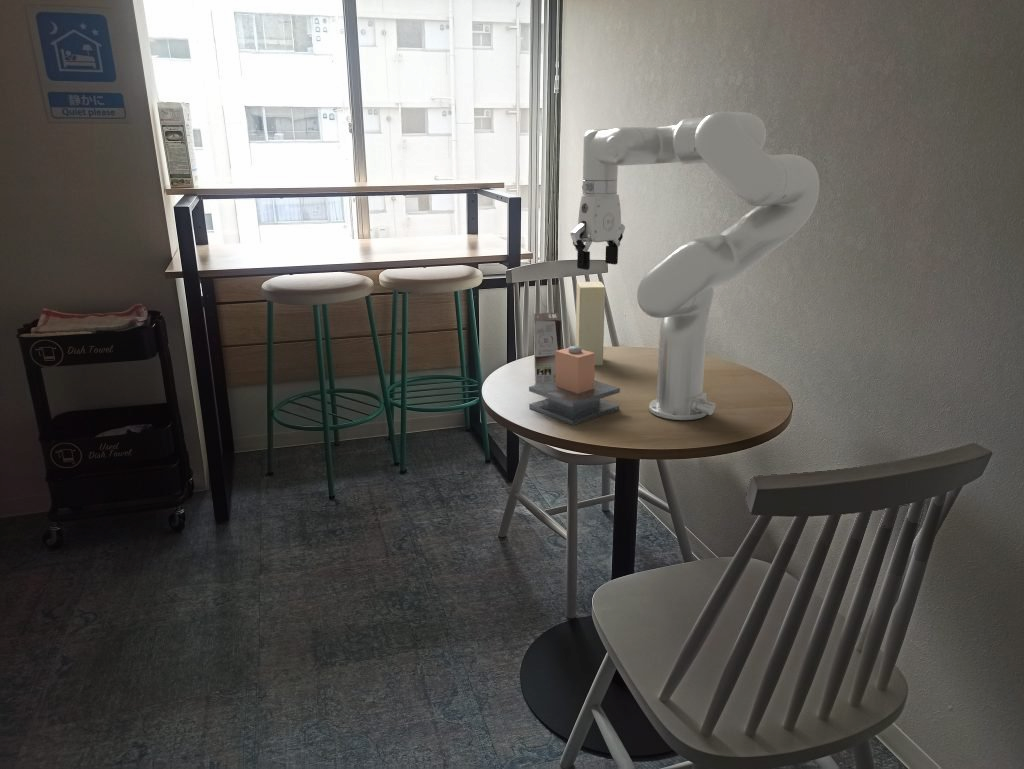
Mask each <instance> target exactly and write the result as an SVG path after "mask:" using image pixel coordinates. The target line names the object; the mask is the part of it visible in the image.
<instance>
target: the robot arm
mask: <svg viewBox="0 0 1024 769" xmlns="http://www.w3.org/2000/svg"><path fill="white" fill-rule="evenodd" d="M766 139H767V130H766V126H765V123H764V122H763V120H762V119H761V118H760V117H758V116H757V115H756V114H754V113H750V112H747V111H746V112H745V111H717V112H713V113H711V114H709V115H707V116H697V117H687V118H684V119H681V120H680V121H679V123H678V124H674V125H665V126H664V125H663V126H654V127H644V126H643V127H637V126H635V127H634V126H633V127H631V126H630V127H616V128H615V127H614V128H611V129H610V128H607V129H606V128H598V129H597V128H596V129H588V130H587V131H586V132H585V133H584V135H583V152H582V153H583V154H582V155H583V156H582V159H583V160H582V163H583V166H582V186H581V189H582V195H581V197H580V202H579V203H580V204H579V213H578V223H577V226H576V227H575V228H574V229H573V230H572V231H570V237H571V241H572V245H573V246H574V247H575V248H574V250H575V251H576V252H577V261H576V262H577V264H576V266H577V267H576V268H577V269H579V270H586V271H588V270H590V268H591V267H590V266H591V265H590V263H591V251H590V250H589V249H590V247H591V246H592V244H593V243H603V242H604V243H605V242H606V244H607V245H606V246H605V257H604V258H605V263H606V264H609V265H618V263H619V247H620V246H621V241H622V239H623V236H624V232H625V229H626V225H624V224H623V223H622V212H621V203H620V202H621V200H620V196H619V194H618V171H619V170H618V169H619V167H618V166H636V165H637V166H638V165H639V166H640V165H641V166H643V165H656V164H657V165H658V164H671V163H681V164H683V165H693V164H696V165H697V164H706V165H707V166H708V168H710V169H711V170H712V171H713V173H714V174H715V175H716V176H717V177H718V178H719V179H720V180H721V181H722V182H723V183H724V184H725V185H726V186H727V187H728V188H729V190H730V191H732V193H733V194H735V196H736V197H737V198H739V200H741V201H742V202H744V203H746V204H748V205H751V206H754V207H755V208H753V209H751V210H749V211H748V212H747V213H746V214H744V215H742V216H741V217H740V218H739V219H738V220H736V221H735V222H734V223H733V224H732V225H730V226H729V227H728V228H726V229H724V230H723V231H721V232H720V233H717V234H713V235H711V236H710V235H709V236H705V237H700V238H694V239H691V240H690V241H687V242H685V243H683V244H682V245H680V246H679V247H678V248H676V249H675V250H674V251H673V252H671V253H670V254H669V255H667V257H665V258H664V259H663V260H662V261H661V262H659V263H658V264H657V265H655V266H654V267H653V268H652V269H650V270H649V271H648V273H646V274H645V276H643V277H642V278H641V280H640V282H639V285H638V287H637V291H636V299H637V304H638V306H639V308H640V309H641V310H642V312H643V313H645V314H646V315H648V316H650V317H652V318H656V319H662V320H661V323H660V329H659V340H658V341H659V342H658V361H657V362H658V363H657V386H656V387H657V388H656V398H655V399H653V400H651V401H650V402H649V405H648V410H649V411H650V412H651V413H652V414H653V415H655V416H657V417H659V418H662V419H667V420H676V421H694V420H698V419H702V418H705V417H706V416H707V415H709V416H712V415H713V414H714V412H715V409H716V403H715V402H711V401H708V400H707V393H706V392H703V386H704V374H705V372H704V370H705V357H706V345H707V344H706V342H707V331H708V330H707V329H708V321H709V320H708V319H709V315H710V311H711V310H710V309H711V308H712V307H711V306H712V302H713V297H714V293H715V292H714V288H715V287H719V286H721V285H725V284H728V283H730V282H732V281H735V280H736V279H738V278H739V277H740V276H741V275H742V274H744V273H745V272H746V271H748V270H749V269H750V268H752V267H754V266H755V265H756V264H757V263H758V262H760V261H761V260H763V259H764V258H765V257H767V256H768V255H769V254H770V253H772V252H773V251H774V250H776V249H777V248H778V247H780V246H781V245H783V244H784V243H785V242H787V241H788V240H789V239H790V238H792V237H793V236H794V235H795V234H796V233H798V231H799V230H801V228H802V227H803V226H804V225H805V224H806V223H807V221H808V220H809V219H810V217H811V216H812V214H813V212H814V210H815V207H816V206H817V203H818V199H819V195H820V177H819V173H818V171H817V168H816V166H815V164H813V163H812V161H811V160H810V159H807V158H806V157H803V156H801V155H797V154H791V153H790V154H789V153H785V154H767V153H766V152H765V151H764V150H763V148H764V145H765V143H766Z"/></svg>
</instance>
